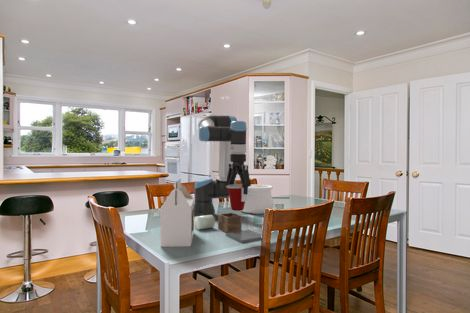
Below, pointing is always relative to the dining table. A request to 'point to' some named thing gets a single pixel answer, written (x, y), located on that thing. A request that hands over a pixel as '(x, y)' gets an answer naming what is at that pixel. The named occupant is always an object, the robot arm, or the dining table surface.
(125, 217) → the dining table surface
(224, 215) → the walnut box
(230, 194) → the plastic cup
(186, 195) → the gable box
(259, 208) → the pot
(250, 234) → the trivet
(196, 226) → the pale green capsule
